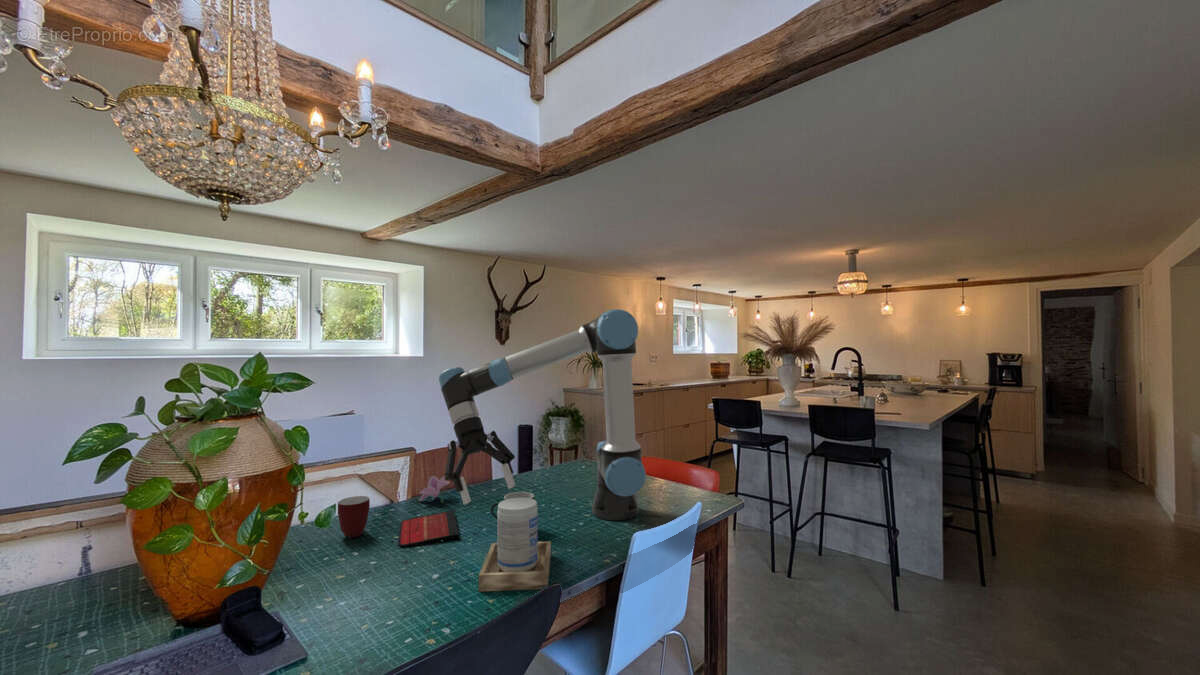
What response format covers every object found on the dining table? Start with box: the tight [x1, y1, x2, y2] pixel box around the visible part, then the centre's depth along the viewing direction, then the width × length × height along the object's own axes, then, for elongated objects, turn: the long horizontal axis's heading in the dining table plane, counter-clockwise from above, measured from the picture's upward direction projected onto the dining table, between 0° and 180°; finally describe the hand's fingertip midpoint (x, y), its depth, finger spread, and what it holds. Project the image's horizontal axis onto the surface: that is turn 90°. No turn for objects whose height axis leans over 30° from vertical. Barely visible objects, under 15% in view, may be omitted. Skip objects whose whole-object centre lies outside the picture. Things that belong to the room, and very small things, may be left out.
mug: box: [337, 495, 371, 538], centre depth 133 cm, size 11×8×10 cm
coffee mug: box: [490, 491, 535, 519], centre depth 135 cm, size 12×9×10 cm
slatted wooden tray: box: [478, 540, 552, 593], centre depth 110 cm, size 15×17×4 cm
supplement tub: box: [496, 498, 539, 572], centre depth 110 cm, size 10×10×15 cm
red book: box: [397, 509, 460, 549], centre depth 136 cm, size 16×2×21 cm
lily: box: [418, 475, 451, 504], centre depth 162 cm, size 12×12×10 cm
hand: (490, 495), depth 122 cm, fingers open, 13 cm apart
